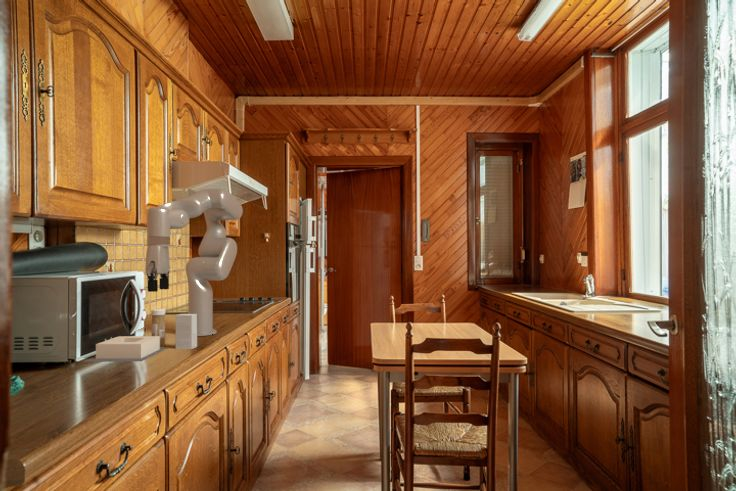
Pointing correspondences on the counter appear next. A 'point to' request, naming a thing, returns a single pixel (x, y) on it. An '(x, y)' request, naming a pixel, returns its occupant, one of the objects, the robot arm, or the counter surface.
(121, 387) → the counter surface
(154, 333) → the sprinkles bottle
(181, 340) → the skincare box
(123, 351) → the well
